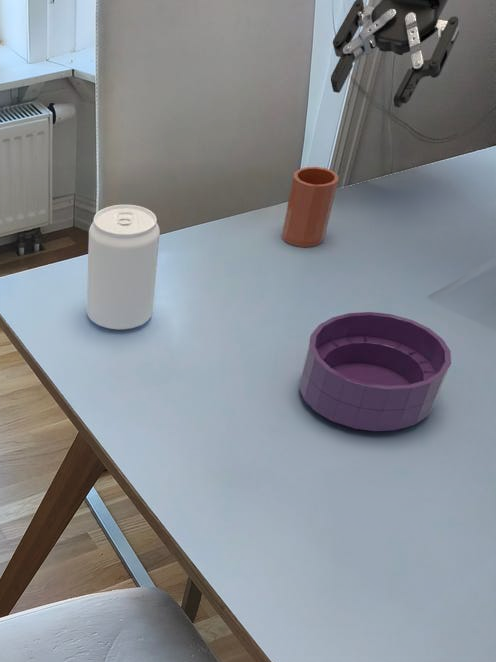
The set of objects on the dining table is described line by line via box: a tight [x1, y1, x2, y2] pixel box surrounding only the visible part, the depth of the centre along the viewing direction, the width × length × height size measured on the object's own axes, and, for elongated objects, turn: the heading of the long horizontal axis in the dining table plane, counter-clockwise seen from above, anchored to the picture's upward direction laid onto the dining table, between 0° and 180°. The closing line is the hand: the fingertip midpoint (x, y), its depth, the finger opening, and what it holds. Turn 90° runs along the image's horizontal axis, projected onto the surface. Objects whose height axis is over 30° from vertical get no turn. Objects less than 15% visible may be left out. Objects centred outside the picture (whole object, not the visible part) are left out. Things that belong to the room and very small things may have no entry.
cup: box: [281, 166, 339, 248], centre depth 117 cm, size 6×6×8 cm
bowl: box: [298, 311, 452, 432], centre depth 95 cm, size 14×14×6 cm
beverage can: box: [86, 204, 161, 330], centre depth 104 cm, size 8×8×12 cm
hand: (365, 96), depth 114 cm, fingers open, 8 cm apart
